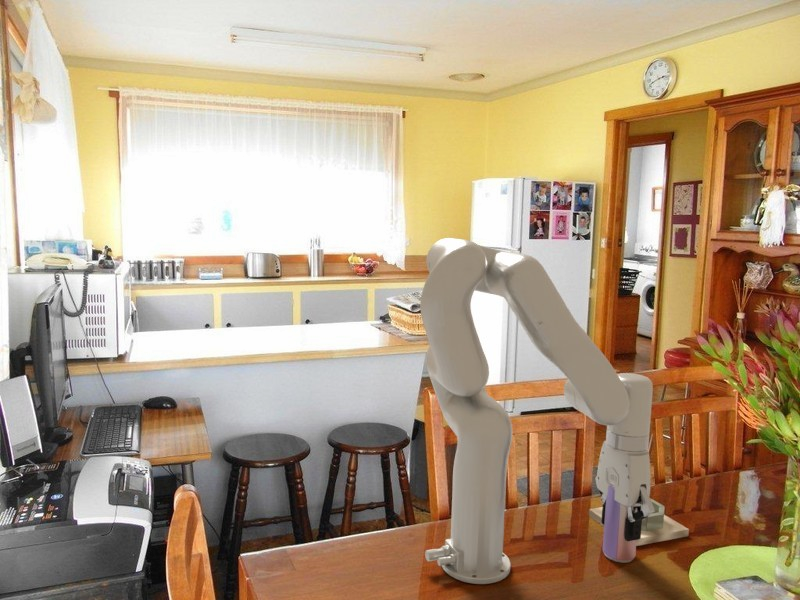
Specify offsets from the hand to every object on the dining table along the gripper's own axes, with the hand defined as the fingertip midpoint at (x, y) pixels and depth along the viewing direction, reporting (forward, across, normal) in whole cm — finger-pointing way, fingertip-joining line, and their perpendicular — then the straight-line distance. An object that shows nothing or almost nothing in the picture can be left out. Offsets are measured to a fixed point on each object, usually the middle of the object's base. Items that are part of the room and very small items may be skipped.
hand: (620, 530), depth 125 cm
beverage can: (+5, 0, 0) cm, 5 cm away
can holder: (+5, -9, +12) cm, 16 cm away
